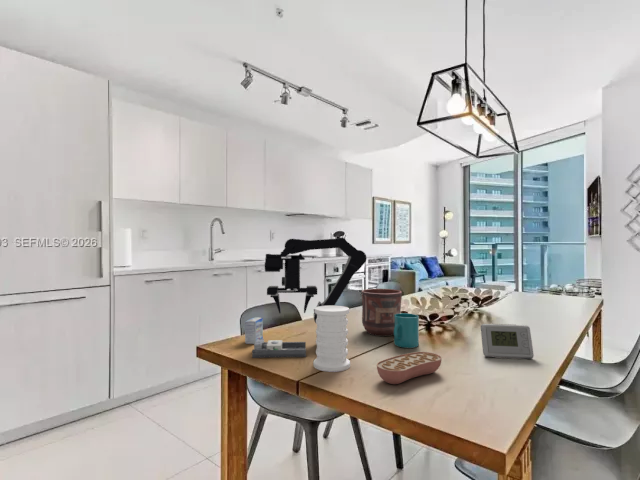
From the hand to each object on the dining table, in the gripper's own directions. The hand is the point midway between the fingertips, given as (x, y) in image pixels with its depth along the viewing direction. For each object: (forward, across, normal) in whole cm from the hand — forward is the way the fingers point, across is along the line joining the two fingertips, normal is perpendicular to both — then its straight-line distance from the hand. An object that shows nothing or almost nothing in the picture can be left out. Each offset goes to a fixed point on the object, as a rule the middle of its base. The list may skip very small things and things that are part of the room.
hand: (292, 313), depth 141 cm
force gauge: (+11, +7, +11) cm, 17 cm away
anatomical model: (+12, -34, +35) cm, 51 cm away
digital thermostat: (+12, -73, +17) cm, 76 cm away
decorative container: (+12, -13, +24) cm, 30 cm away
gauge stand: (+12, +4, +10) cm, 16 cm away
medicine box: (+12, +15, -6) cm, 20 cm away
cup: (+12, -42, +3) cm, 44 cm away
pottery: (+12, -38, -18) cm, 44 cm away
